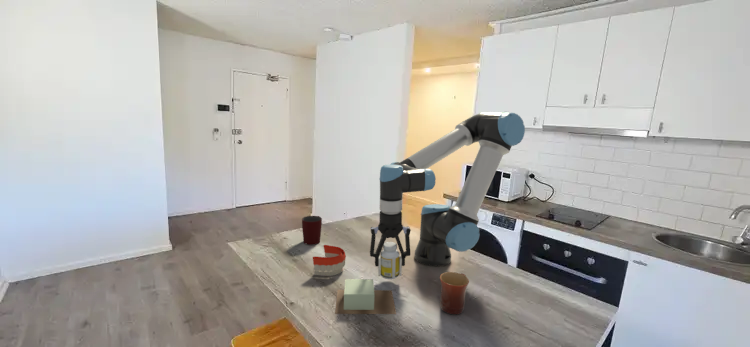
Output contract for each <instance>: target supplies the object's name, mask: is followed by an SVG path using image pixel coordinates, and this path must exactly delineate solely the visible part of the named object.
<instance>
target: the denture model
mask: <svg viewBox="0 0 750 347" xmlns="http://www.w3.org/2000/svg"><path fill="white" fill-rule="evenodd" d="M322 247H323V249H324V250H323V253H324V257H323V256H312V262H313V275H314V276H322V277H323V276H325V277H330V276H331V277H332V276H335V275H339V274H341V273H342V271H344V267H345V265H346V257H347V256H346V252H345V250H344V249H343V248H341V247H339V246H335V245H329V244H324V245H323V246H322Z"/></svg>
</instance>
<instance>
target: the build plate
mask: <svg viewBox="0 0 750 347" xmlns="http://www.w3.org/2000/svg"><path fill="white" fill-rule="evenodd" d="M334 310H335V311H334V314H335V315H374V314H375V315H396V314H397V311H396V306H395V300H394V294H393V290H388V289H387V290H386V289H385V290H382V289H381V290H379V289H377V290H376V289H374V310H344V289H337V291H336V300H335V309H334Z"/></svg>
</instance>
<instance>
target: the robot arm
mask: <svg viewBox="0 0 750 347" xmlns="http://www.w3.org/2000/svg"><path fill="white" fill-rule="evenodd" d="M525 133H526V128H525V124H524V121H523V118H522V117H521V116H520V115H519V114H518V113H515V112H509V111H503V112H502V111H498V112H497V111H483V112H479V113H477V114H475V115H472V116H470V117H468V118H467V119H465V120H463V121H462V122H460V123H458V124H457V125H455V127H454V129H453V130H451V131H450V132H448V133H447V134H445V135H443V136H442V137H440V138H438V139H436V140H435V141H433V142H432V143H430V144H428V145H426V146H424V147H423V148H421V149H420V150H418V151H417V152H415V153H413V154H411V155H410V156H407V158H405V159H403V160H401V161H400V162H399V161H394V162H391V163H390V164H389V163H388V164H385V165H382V166H381V167H380V170H379V171H380V172H379V223H378V225H377V226H375V227H374V226H371V227H370V233H371V237H370V238H371V239H370V247H369V248H370V249H369V256H370V257H373V258H374V265H375V267H377V276H378V277H382V276H381V251H382V250H383V245H384V243H385V242H386V240H387V239H389V238H390V239H395V241H396V244H397V248H398V249H399V250H398V251H399V276H398V277H402V270H403V269H402V268H403V267H404V266H405V265H406V257H410V256H411V240H410V234H411V232H412V230H411V228H410V227H411V226H408V225H407V226H403V222H402V220H403V212H402V211H403V193H404V194H405V193H415V192H425V191H430V190H433V189H434V187H435V186H436V175H435V173H434V171H433V170H432V168H431V167H432V166H434V165H435V164H437V163H439V162H440V161H442V160H443V159H445V158H447V157H448V156H450V155H451V154H453V153H454V152H457V151H458V150H459V149H462V148H463V147H464V146H466V147H468V146H470V145H472V144H475V143H479V150H478V152H477V153H476V156H475V159H474V161H473V163H472V166H471V168H470V169H469V172H468V175H467V177H466V179H465V182H464V184H463V186H462V187H461V190H460V193H459V195H458V198H457V200H456V202H455V204H453V205H452V206H450V205H448V204H441V203H436V204H435V203H433V204H431V203H430V204H425V205H424V206H422V208H421V212H420V229H419V230H420V231H419V240H418V243H417V245H416V247H415V250H414V259H415V260H416V261H417V262H418V263H420V264H422V265H425V266H429V267H445V266H448V265H449V264H450V263H451V262H452V253H451V250H450V249H452V250H453V251H456V252H460V253H462V252H467V251H468V250H472V248H474V247H475V246H476V245H477V243H478V242H479V239H480V228H479V227H478V224H479V221H480V219H479V217H478V214H479V211H480V209H481V206H482V204H483V201H484V199H485V197H486V195H487V193H488V191H489V188H490V186H491V184H492V181H493V179H494V176H495V174H496V173H497V169H498V167H499V165H500V163H501V160H502V158H503V157H504V155H506V154H507V155H508V154H509V153H510V151H511V149H512V147H514V146H517V145H519V144H520V143H521V142H522V140H523V139H524V137H525ZM378 231H379V232H380V234H381V236H380V239H379V242H378V244H377V248H376V249H375V245H376V235H377V234H378ZM402 231H403V233H404V240H405V241H404V242H405V251H404V248H403V245H402V242H401V239H400V236H399V235H401V234H400V233H401V232H402Z"/></svg>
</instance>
